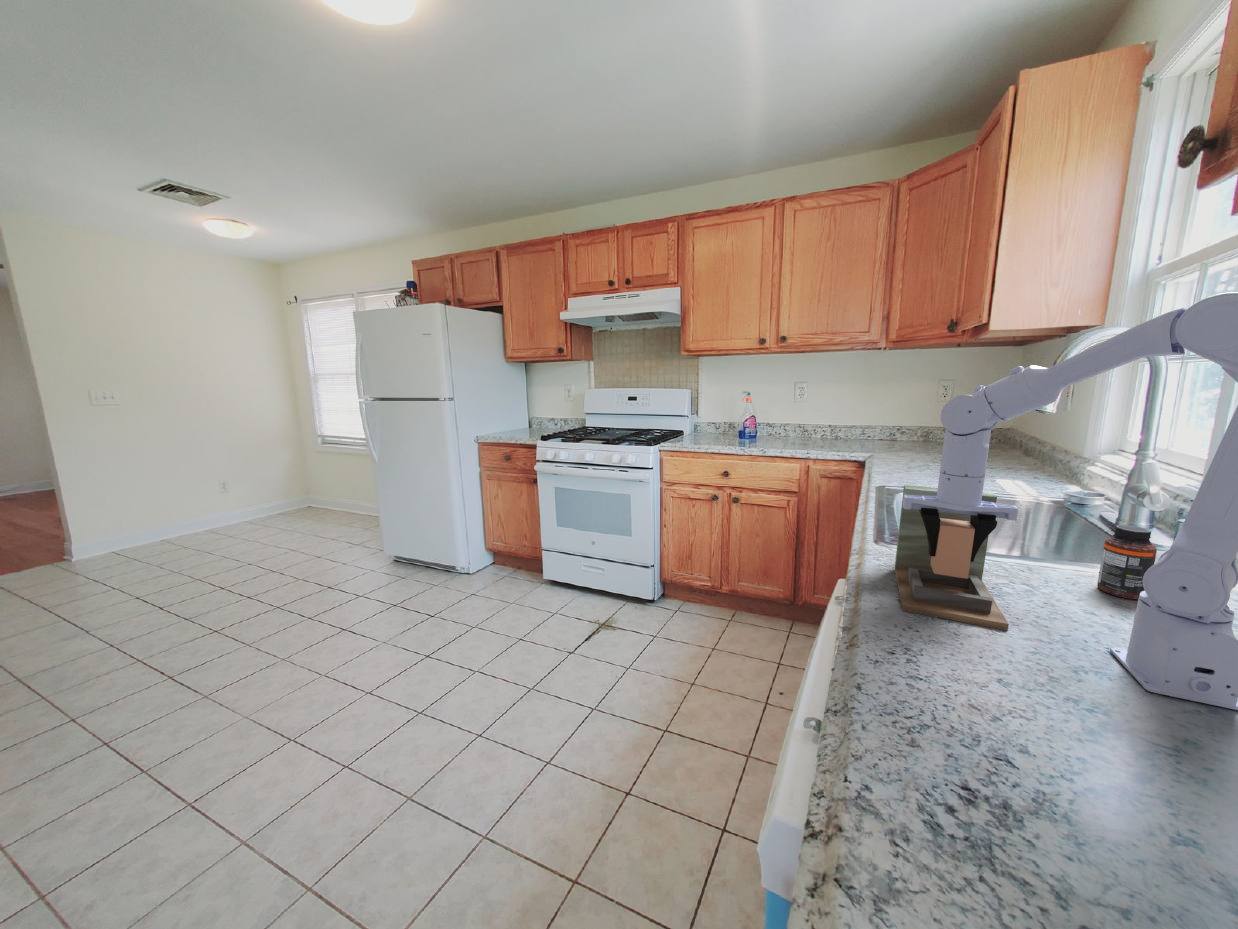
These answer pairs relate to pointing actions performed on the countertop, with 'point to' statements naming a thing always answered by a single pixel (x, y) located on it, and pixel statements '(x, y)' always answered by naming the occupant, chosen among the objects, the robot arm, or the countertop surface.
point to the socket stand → (941, 591)
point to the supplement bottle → (1126, 561)
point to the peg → (953, 548)
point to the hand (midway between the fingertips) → (950, 557)
